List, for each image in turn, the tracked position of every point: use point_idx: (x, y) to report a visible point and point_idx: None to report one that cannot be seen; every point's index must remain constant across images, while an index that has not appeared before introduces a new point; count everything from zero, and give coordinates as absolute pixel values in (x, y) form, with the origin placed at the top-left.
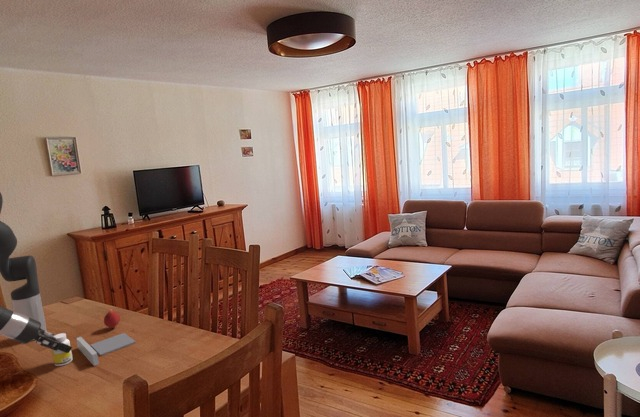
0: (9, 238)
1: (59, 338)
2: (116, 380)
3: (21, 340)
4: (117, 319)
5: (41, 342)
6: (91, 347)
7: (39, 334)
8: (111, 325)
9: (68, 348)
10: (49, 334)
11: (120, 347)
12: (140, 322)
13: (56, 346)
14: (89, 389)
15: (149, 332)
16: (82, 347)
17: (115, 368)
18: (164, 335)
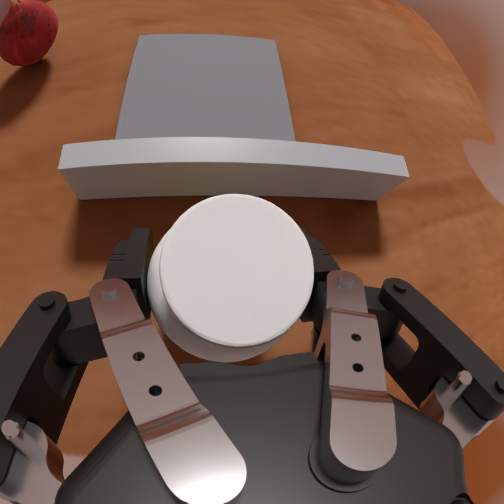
0: None
1: (309, 276)
2: (486, 194)
3: None
4: (56, 16)
5: (472, 438)
6: (313, 143)
7: (465, 490)
8: (48, 46)
9: (321, 248)
10: (336, 382)
11: (282, 78)
12: (98, 4)
13: (401, 324)
14: (495, 262)
15: (220, 4)
16: (201, 174)
17: (432, 163)
18: (289, 3)
